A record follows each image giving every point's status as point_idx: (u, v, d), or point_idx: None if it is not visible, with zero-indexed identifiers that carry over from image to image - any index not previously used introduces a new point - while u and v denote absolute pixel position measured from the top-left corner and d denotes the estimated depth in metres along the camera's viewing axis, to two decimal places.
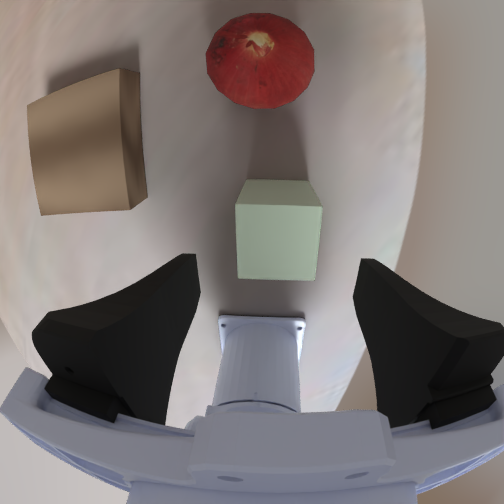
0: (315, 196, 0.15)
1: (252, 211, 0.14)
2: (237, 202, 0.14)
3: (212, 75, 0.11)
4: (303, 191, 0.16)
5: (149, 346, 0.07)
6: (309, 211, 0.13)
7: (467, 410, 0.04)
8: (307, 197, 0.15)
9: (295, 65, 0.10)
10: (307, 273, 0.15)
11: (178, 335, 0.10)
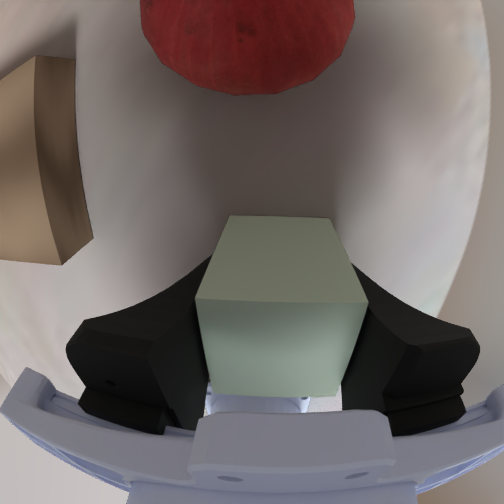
0: (349, 265, 0.08)
1: (229, 311, 0.07)
2: (200, 290, 0.07)
3: (147, 33, 0.04)
4: (325, 249, 0.09)
5: (192, 352, 0.07)
6: (343, 310, 0.07)
7: (428, 422, 0.04)
8: (335, 268, 0.08)
9: None
10: (325, 389, 0.08)
11: None
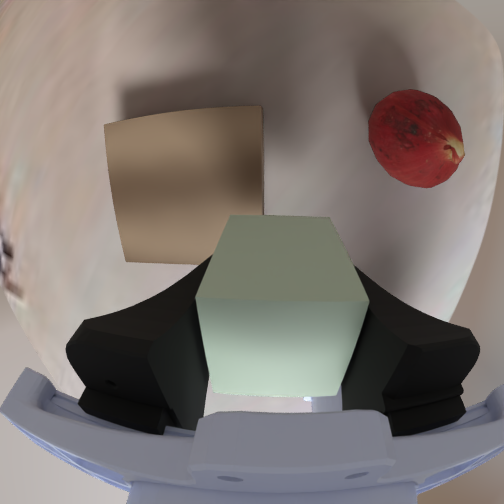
0: (349, 264, 0.08)
1: (230, 310, 0.07)
2: (201, 289, 0.07)
3: (389, 152, 0.12)
4: (326, 248, 0.09)
5: (192, 352, 0.07)
6: (344, 309, 0.06)
7: (429, 422, 0.04)
8: (336, 267, 0.08)
9: (458, 163, 0.10)
10: (326, 389, 0.08)
11: None
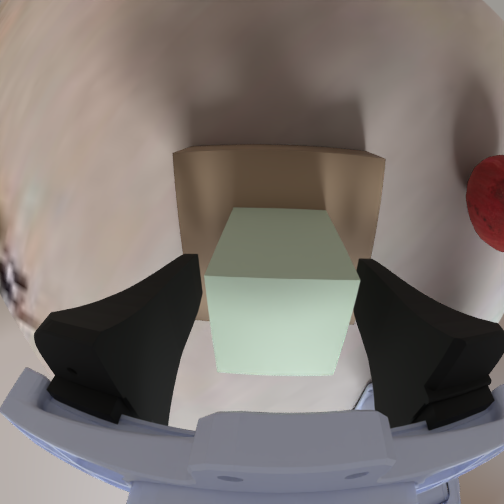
0: (343, 249, 0.09)
1: (235, 287, 0.08)
2: (209, 269, 0.08)
3: (493, 224, 0.10)
4: (322, 236, 0.10)
5: (152, 346, 0.07)
6: (338, 287, 0.07)
7: (465, 410, 0.04)
8: (330, 252, 0.09)
9: None
10: (323, 368, 0.09)
11: (181, 335, 0.10)
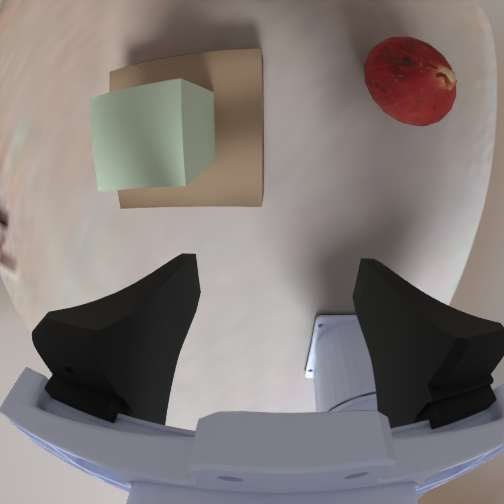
0: (192, 84, 0.10)
1: (105, 102, 0.09)
2: None
3: (385, 86, 0.11)
4: None
5: (149, 346, 0.07)
6: (165, 86, 0.09)
7: (467, 410, 0.04)
8: None
9: (453, 98, 0.10)
10: (173, 174, 0.10)
11: (178, 335, 0.10)
